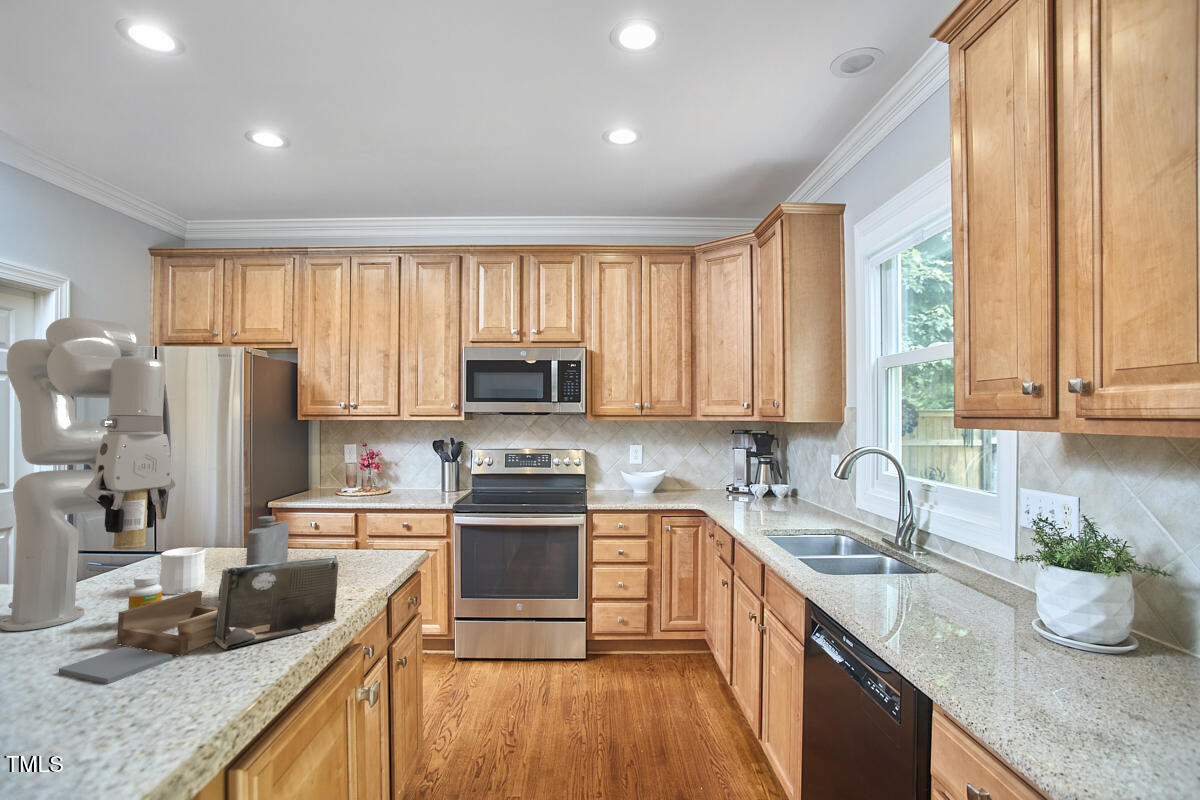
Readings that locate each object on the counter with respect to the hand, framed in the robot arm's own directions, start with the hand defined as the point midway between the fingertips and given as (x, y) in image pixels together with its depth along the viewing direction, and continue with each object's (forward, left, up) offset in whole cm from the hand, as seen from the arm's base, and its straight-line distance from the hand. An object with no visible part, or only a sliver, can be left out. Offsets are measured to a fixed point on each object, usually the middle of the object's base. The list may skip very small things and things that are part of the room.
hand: (130, 528), depth 98 cm
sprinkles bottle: (0, 0, -4) cm, 4 cm away
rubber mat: (0, -1, -23) cm, 23 cm away
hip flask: (-8, +35, -24) cm, 43 cm away
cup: (-35, +35, -24) cm, 55 cm away
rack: (-3, +13, -23) cm, 27 cm away
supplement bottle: (-18, +15, -24) cm, 33 cm away
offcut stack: (+3, +13, -23) cm, 27 cm away
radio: (+12, +21, -24) cm, 34 cm away
